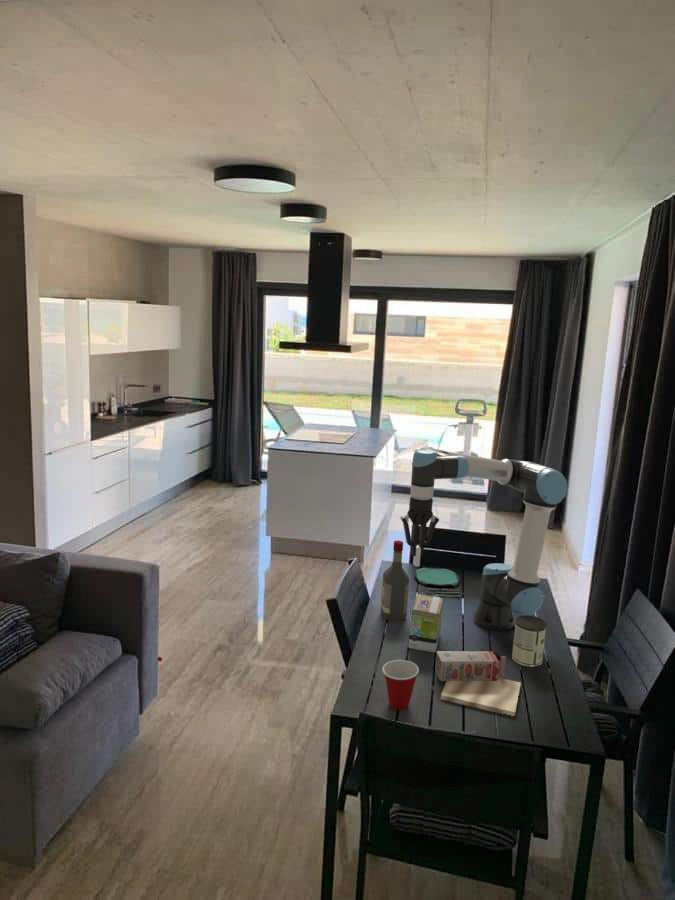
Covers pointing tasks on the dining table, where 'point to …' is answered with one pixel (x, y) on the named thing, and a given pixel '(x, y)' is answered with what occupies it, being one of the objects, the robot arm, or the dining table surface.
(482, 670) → the juice carton
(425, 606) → the tea box
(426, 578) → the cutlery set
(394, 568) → the liquor
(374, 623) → the dining table surface
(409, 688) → the plastic cup
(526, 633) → the coffee can
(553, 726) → the dining table surface
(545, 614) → the dining table surface
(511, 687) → the cutting board
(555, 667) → the dining table surface
